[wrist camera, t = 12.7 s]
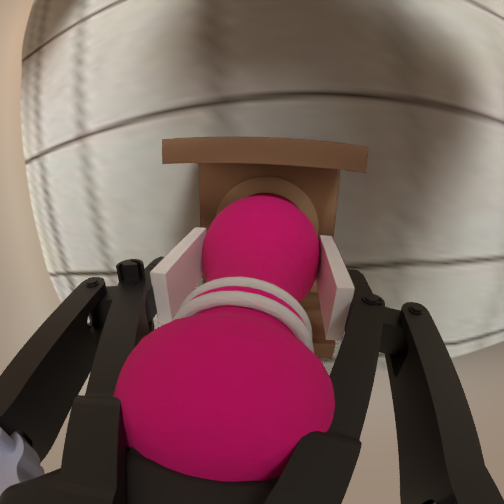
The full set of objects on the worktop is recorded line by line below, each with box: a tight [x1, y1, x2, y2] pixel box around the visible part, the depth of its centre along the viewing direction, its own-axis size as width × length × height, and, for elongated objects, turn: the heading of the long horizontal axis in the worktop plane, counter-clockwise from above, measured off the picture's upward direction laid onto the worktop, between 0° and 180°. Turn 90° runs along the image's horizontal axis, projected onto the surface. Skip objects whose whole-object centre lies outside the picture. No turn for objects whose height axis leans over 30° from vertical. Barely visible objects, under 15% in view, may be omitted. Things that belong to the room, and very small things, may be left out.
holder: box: [162, 137, 368, 359], centre depth 19 cm, size 14×11×8 cm
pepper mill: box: [114, 193, 335, 482], centre depth 12 cm, size 7×7×20 cm
